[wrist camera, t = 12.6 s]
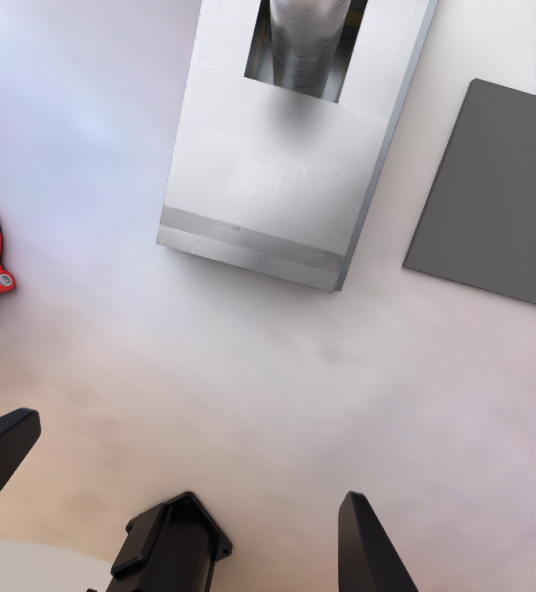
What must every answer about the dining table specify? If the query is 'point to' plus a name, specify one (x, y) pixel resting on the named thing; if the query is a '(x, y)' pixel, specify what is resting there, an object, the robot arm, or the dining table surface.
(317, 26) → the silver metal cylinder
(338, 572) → the robot arm
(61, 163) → the dining table surface
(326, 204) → the windowed slide housing
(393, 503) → the dining table surface
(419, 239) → the rubber mat
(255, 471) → the dining table surface
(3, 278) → the tow hook
